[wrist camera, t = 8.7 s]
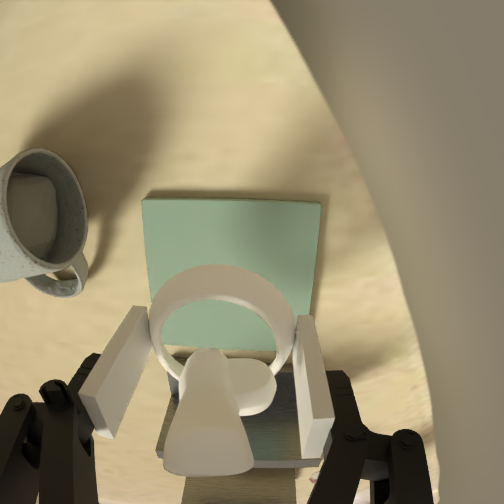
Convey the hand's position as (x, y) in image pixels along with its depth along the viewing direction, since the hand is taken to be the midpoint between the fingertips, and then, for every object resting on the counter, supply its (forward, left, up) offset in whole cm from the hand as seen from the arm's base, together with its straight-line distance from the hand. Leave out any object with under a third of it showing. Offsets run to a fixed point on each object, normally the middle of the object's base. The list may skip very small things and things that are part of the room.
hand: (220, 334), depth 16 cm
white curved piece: (0, 0, 0) cm, 0 cm away
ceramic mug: (-4, -13, -6) cm, 15 cm away
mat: (0, 0, -6) cm, 6 cm away
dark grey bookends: (+18, +1, -6) cm, 19 cm away
